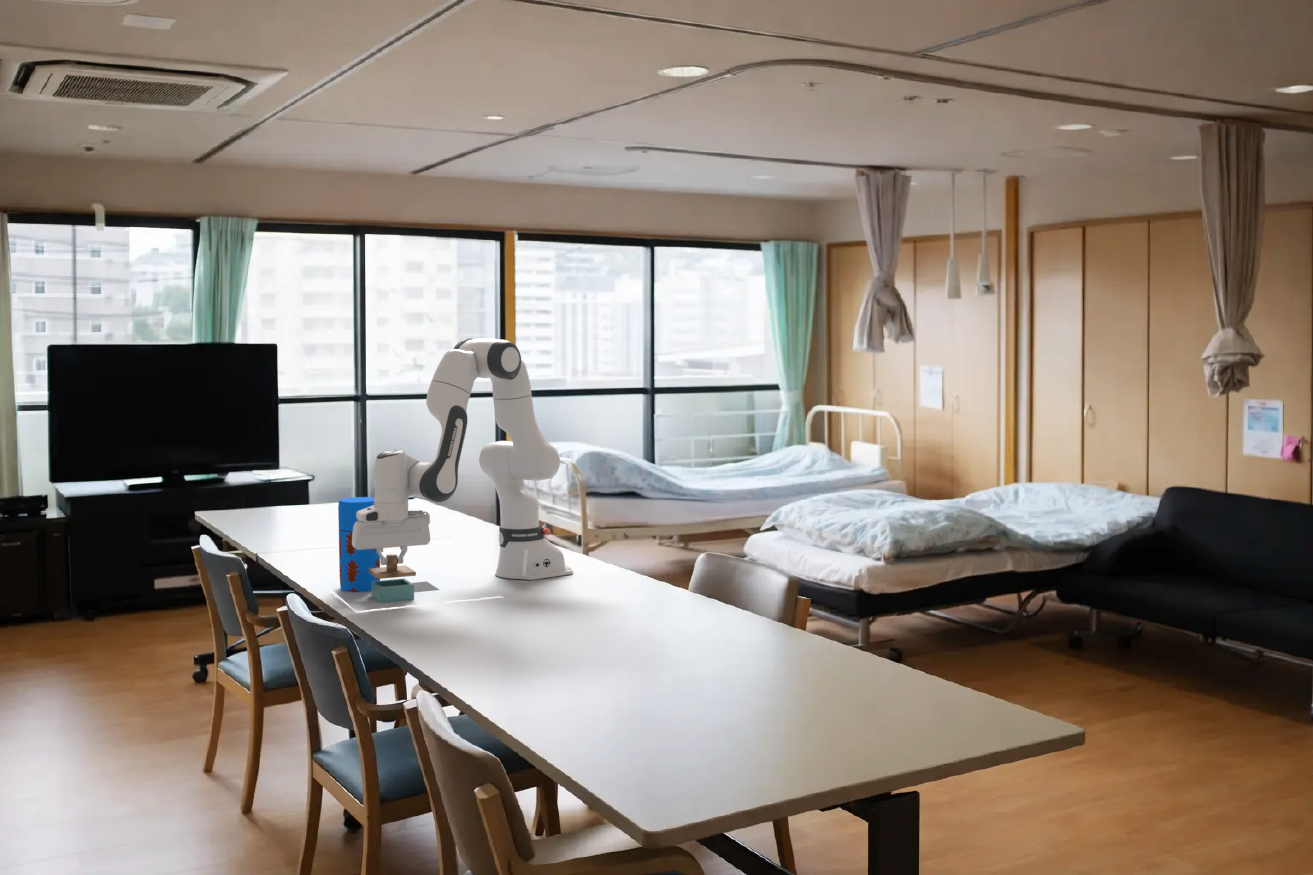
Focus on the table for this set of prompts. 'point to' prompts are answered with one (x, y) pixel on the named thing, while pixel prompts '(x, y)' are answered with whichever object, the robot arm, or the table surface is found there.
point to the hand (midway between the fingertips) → (391, 563)
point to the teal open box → (392, 590)
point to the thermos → (351, 559)
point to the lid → (391, 569)
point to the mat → (423, 587)
